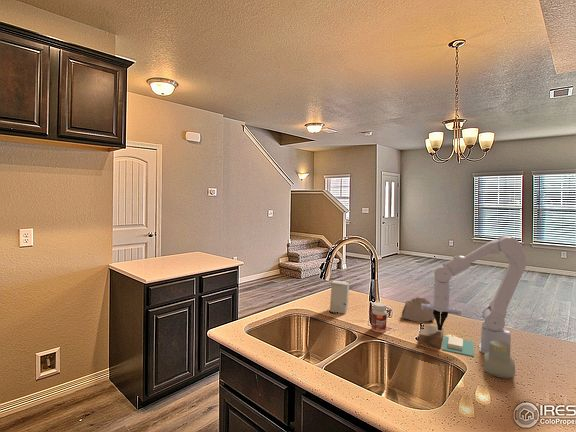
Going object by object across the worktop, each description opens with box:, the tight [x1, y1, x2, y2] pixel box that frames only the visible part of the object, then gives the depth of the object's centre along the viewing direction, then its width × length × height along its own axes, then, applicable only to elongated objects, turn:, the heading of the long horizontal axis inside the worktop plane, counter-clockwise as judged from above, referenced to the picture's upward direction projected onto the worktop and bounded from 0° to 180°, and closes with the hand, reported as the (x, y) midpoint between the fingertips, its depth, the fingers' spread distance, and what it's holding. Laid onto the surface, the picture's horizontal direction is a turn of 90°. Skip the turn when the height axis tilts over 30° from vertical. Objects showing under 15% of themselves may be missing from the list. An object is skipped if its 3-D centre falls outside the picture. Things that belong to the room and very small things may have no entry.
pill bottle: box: [371, 302, 388, 333], centre depth 145 cm, size 6×6×11 cm
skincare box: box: [329, 280, 350, 315], centre depth 168 cm, size 8×6×15 cm
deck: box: [418, 324, 444, 350], centre depth 135 cm, size 8×12×4 cm, turn 152°
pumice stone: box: [401, 296, 436, 323], centre depth 159 cm, size 15×8×10 cm, turn 73°
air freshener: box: [483, 340, 516, 379], centre depth 110 cm, size 11×8×10 cm
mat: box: [441, 335, 475, 358], centre depth 130 cm, size 10×14×1 cm
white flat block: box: [448, 335, 464, 350], centre depth 131 cm, size 5×8×2 cm, turn 152°
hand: (439, 329), depth 134 cm, fingers closed
